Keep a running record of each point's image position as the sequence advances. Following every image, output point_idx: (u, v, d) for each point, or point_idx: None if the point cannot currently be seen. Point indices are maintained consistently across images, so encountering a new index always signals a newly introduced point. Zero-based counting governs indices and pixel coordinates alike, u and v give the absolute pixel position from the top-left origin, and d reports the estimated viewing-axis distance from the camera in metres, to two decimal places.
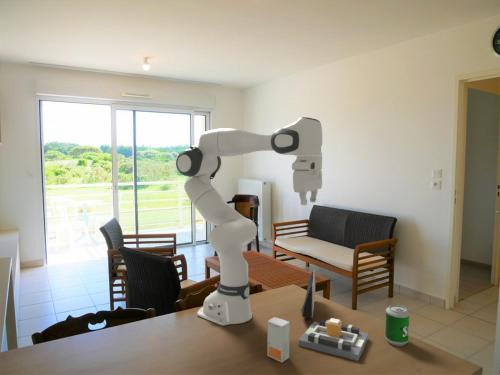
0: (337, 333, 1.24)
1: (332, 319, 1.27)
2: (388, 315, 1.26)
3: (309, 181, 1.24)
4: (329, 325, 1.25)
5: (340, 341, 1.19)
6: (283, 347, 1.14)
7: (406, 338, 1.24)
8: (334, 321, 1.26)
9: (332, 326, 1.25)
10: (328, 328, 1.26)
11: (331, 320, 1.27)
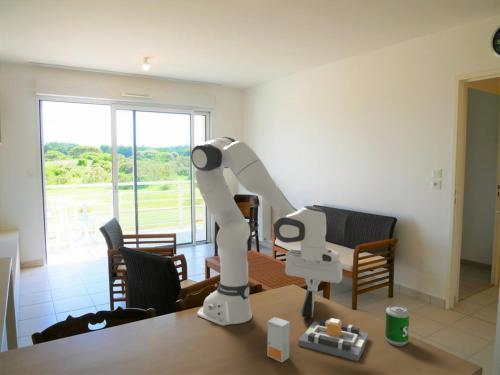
0: (337, 333, 1.24)
1: (332, 319, 1.27)
2: (388, 315, 1.26)
3: None
4: (329, 325, 1.25)
5: (340, 341, 1.19)
6: (283, 347, 1.14)
7: (406, 338, 1.24)
8: (334, 321, 1.26)
9: (332, 326, 1.25)
10: (328, 328, 1.26)
11: (331, 320, 1.27)
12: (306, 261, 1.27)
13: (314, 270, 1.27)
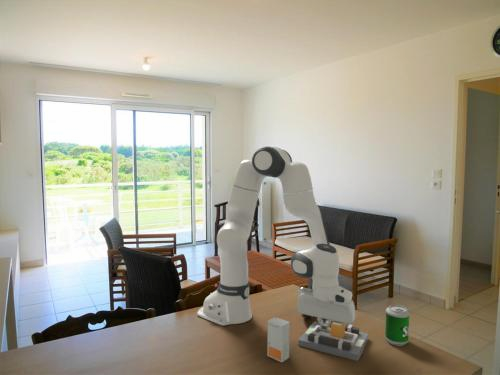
0: (341, 334, 1.24)
1: None
2: (388, 315, 1.26)
3: None
4: (333, 326, 1.25)
5: (340, 341, 1.19)
6: (283, 347, 1.14)
7: (406, 338, 1.24)
8: (338, 322, 1.25)
9: (336, 327, 1.24)
10: (331, 329, 1.25)
11: (335, 321, 1.26)
12: (318, 300, 1.26)
13: (327, 310, 1.26)
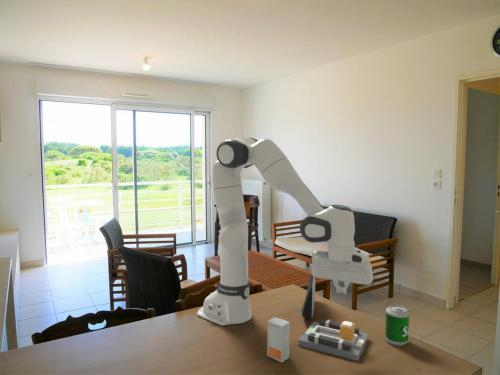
0: (350, 336, 1.22)
1: (345, 322, 1.25)
2: (388, 315, 1.26)
3: None
4: (342, 328, 1.23)
5: (340, 341, 1.19)
6: (283, 347, 1.14)
7: (406, 338, 1.24)
8: (347, 324, 1.24)
9: (345, 329, 1.23)
10: (341, 331, 1.24)
11: (344, 323, 1.24)
12: (334, 262, 1.22)
13: (343, 271, 1.22)
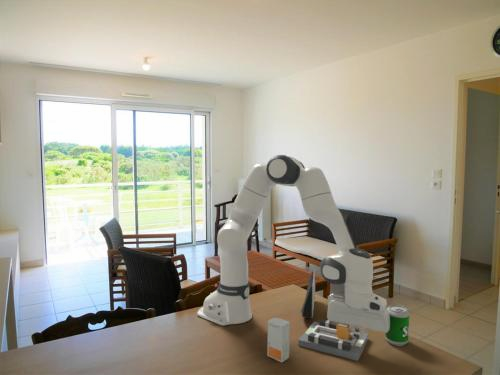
0: (347, 335, 1.23)
1: None
2: None
3: None
4: (339, 327, 1.24)
5: (340, 341, 1.19)
6: (283, 347, 1.14)
7: (406, 338, 1.24)
8: None
9: (342, 328, 1.23)
10: (337, 330, 1.24)
11: None
12: (351, 308, 1.20)
13: (360, 317, 1.20)
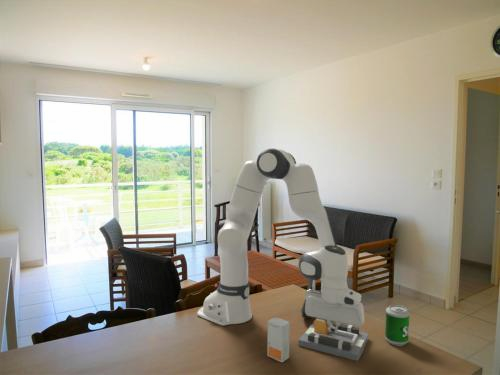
0: (324, 330, 1.26)
1: None
2: (388, 315, 1.26)
3: None
4: (316, 322, 1.28)
5: (340, 341, 1.19)
6: (283, 347, 1.14)
7: (406, 338, 1.24)
8: None
9: (319, 323, 1.27)
10: (315, 325, 1.28)
11: None
12: (327, 303, 1.24)
13: (335, 312, 1.24)
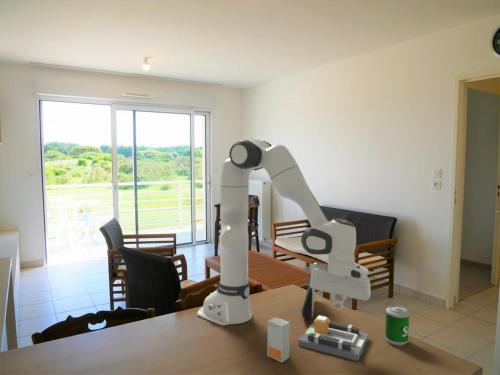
0: (324, 330, 1.26)
1: (319, 316, 1.30)
2: (388, 315, 1.26)
3: None
4: (316, 322, 1.28)
5: (340, 341, 1.19)
6: (283, 347, 1.14)
7: (406, 338, 1.24)
8: (321, 318, 1.28)
9: (319, 323, 1.27)
10: (315, 325, 1.28)
11: (318, 317, 1.29)
12: (333, 276, 1.23)
13: (341, 285, 1.22)
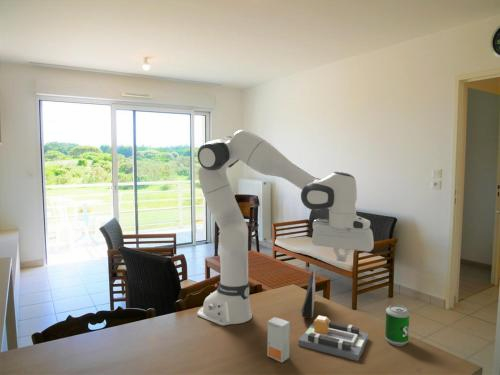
0: (324, 330, 1.26)
1: (319, 316, 1.30)
2: (388, 315, 1.26)
3: None
4: (316, 322, 1.28)
5: (340, 341, 1.19)
6: (283, 347, 1.14)
7: (406, 338, 1.24)
8: (321, 318, 1.28)
9: (319, 323, 1.27)
10: (315, 325, 1.28)
11: (318, 317, 1.29)
12: (335, 229, 1.21)
13: (344, 238, 1.21)
